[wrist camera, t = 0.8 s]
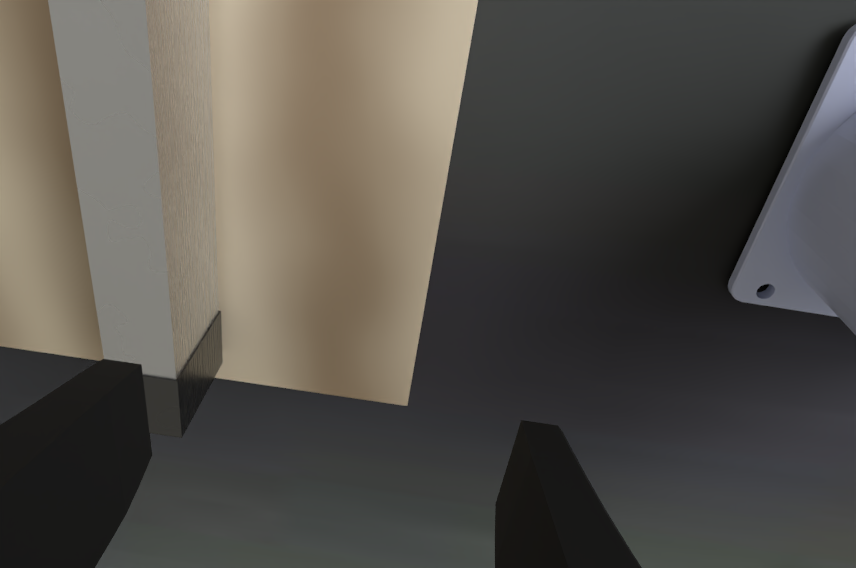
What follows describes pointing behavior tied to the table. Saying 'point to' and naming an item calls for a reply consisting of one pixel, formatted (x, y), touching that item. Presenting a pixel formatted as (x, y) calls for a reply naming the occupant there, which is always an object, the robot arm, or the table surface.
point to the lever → (147, 188)
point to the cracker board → (264, 187)
